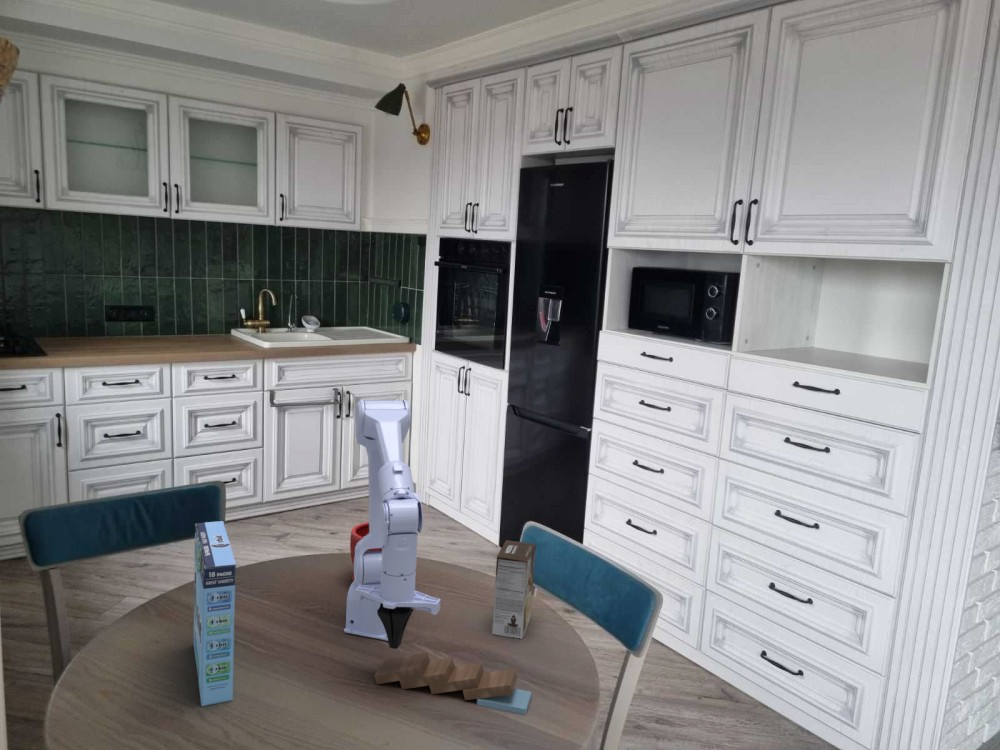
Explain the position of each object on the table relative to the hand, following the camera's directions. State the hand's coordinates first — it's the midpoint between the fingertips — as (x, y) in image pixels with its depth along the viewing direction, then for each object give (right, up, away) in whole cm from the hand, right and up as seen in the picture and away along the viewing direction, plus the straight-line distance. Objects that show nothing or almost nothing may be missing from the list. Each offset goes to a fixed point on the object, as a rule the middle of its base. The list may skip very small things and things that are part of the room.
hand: (395, 645), depth 121 cm
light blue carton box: (-30, -4, -1) cm, 31 cm away
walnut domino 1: (-2, -5, +1) cm, 6 cm away
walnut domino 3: (+7, -6, -1) cm, 9 cm away
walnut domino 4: (+12, -6, -2) cm, 14 cm away
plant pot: (-9, 0, +37) cm, 38 cm away
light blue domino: (+15, -7, -3) cm, 16 cm away
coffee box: (+20, -4, +21) cm, 29 cm away
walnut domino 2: (+2, -5, 0) cm, 6 cm away
